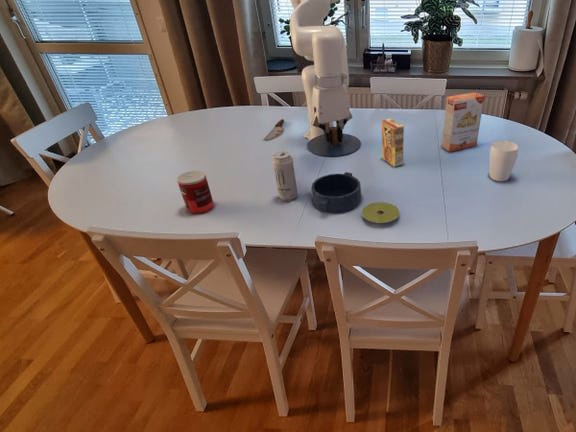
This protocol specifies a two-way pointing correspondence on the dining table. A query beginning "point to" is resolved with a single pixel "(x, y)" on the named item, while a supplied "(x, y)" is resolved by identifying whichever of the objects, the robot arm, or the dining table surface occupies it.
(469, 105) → the cracker box
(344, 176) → the pan
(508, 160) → the cup
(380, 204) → the olive green disc
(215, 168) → the dining table surface
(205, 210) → the canned food
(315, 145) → the pan lid
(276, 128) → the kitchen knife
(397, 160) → the candy box
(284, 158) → the energy drink can
